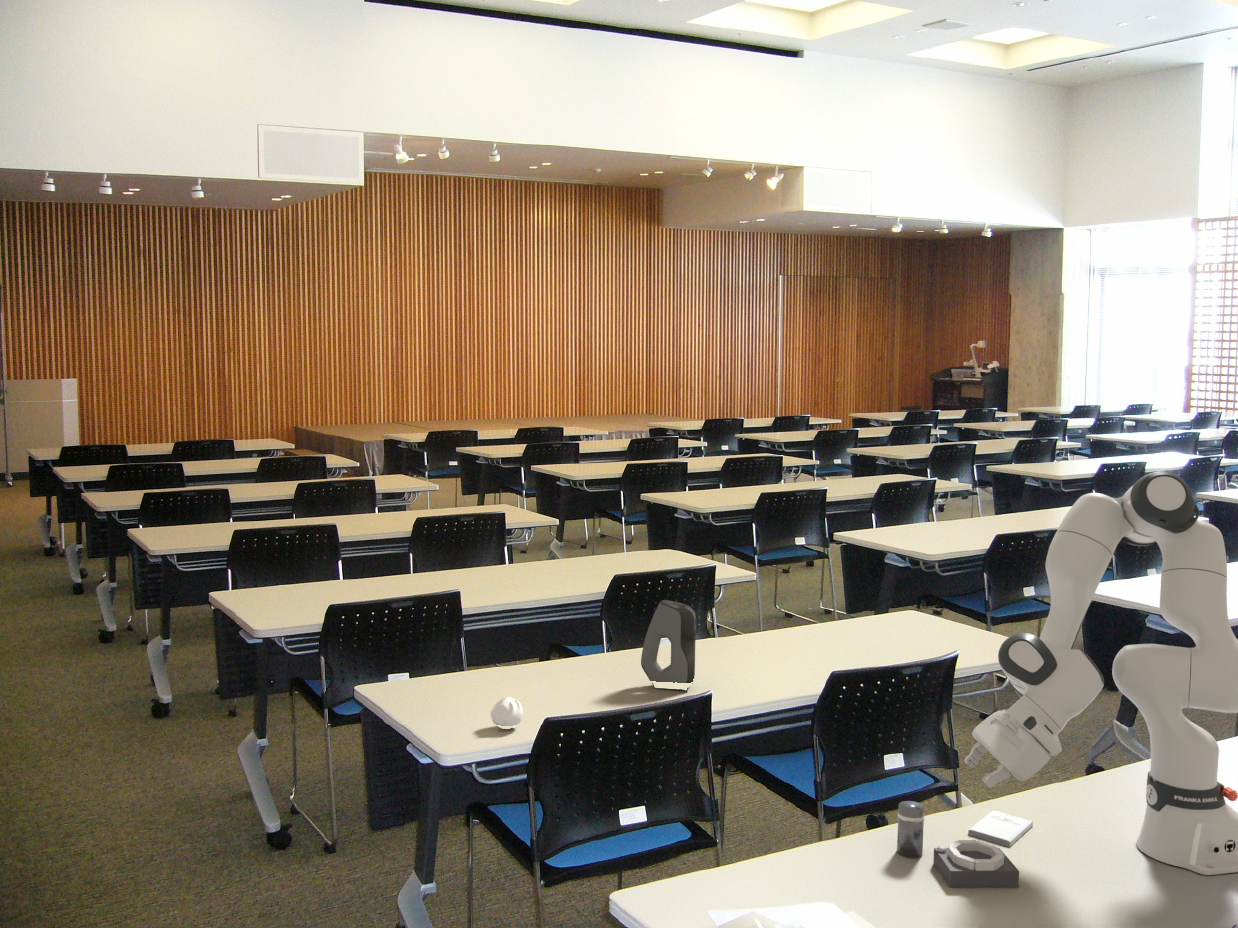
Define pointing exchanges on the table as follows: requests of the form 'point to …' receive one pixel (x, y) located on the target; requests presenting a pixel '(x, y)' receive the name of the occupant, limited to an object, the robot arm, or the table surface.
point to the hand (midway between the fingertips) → (976, 774)
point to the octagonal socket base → (975, 865)
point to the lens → (910, 829)
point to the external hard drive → (1001, 828)
